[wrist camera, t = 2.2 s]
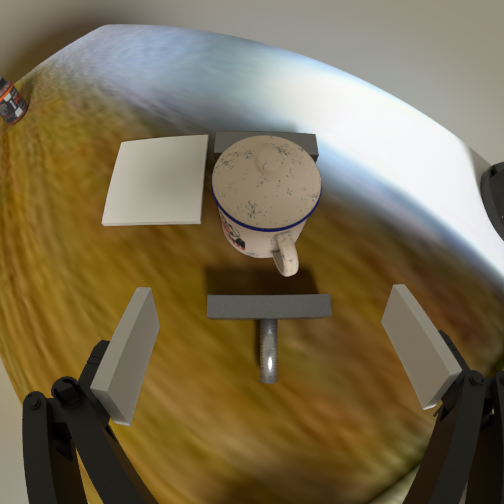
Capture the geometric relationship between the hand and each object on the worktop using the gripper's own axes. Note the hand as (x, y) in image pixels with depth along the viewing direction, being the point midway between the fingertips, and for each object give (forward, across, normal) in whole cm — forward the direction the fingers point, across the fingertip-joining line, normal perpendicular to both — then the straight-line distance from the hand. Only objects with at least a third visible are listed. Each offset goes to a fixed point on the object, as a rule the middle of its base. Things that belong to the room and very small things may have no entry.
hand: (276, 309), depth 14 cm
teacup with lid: (+16, +1, -3) cm, 17 cm away
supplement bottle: (+36, -50, +17) cm, 64 cm away
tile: (+21, -12, +2) cm, 25 cm away
